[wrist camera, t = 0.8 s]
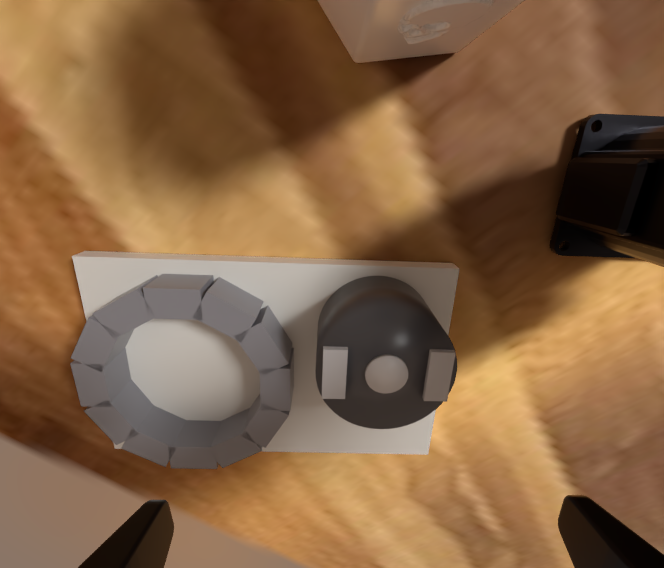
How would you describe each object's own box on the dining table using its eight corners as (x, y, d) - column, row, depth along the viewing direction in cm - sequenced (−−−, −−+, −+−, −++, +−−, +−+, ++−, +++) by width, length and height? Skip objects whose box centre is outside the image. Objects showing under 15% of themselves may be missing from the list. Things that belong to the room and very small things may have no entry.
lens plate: (452, 262, 19) (475, 282, 16) (423, 442, 23) (437, 482, 20) (85, 250, 18) (40, 268, 15) (123, 436, 22) (94, 477, 19)
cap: (438, 277, 18) (470, 312, 14) (423, 378, 20) (447, 434, 16) (319, 273, 18) (316, 308, 14) (316, 375, 20) (313, 431, 16)
